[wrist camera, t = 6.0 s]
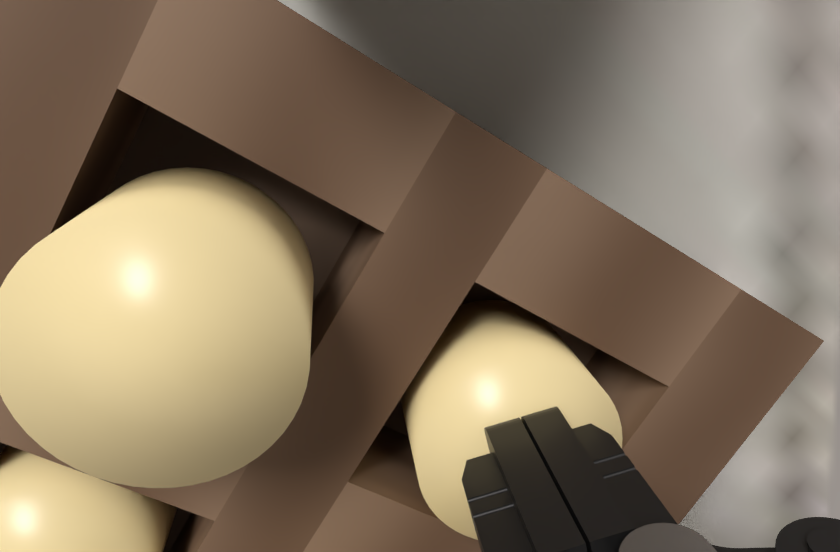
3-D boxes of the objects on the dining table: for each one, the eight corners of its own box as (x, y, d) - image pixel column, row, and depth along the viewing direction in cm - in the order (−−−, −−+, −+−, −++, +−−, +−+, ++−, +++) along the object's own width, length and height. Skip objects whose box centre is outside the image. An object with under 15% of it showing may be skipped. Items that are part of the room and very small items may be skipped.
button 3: (37, 326, 12) (-60, 420, 9) (134, 121, 11) (62, 148, 8) (251, 416, 13) (228, 526, 10) (354, 238, 12) (364, 300, 9)
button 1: (-32, 523, 16) (-117, 635, 13) (35, 383, 15) (-38, 468, 12) (137, 579, 17) (97, 694, 14) (209, 453, 16) (182, 546, 13)
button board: (-166, 535, 17) (-308, 675, 13) (105, -101, 13) (17, -161, 9) (403, 710, 21) (420, 850, 18) (719, 279, 18) (824, 340, 14)
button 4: (366, 414, 16) (376, 499, 13) (457, 269, 15) (491, 324, 12) (507, 477, 17) (547, 569, 14) (599, 346, 16) (663, 414, 13)
